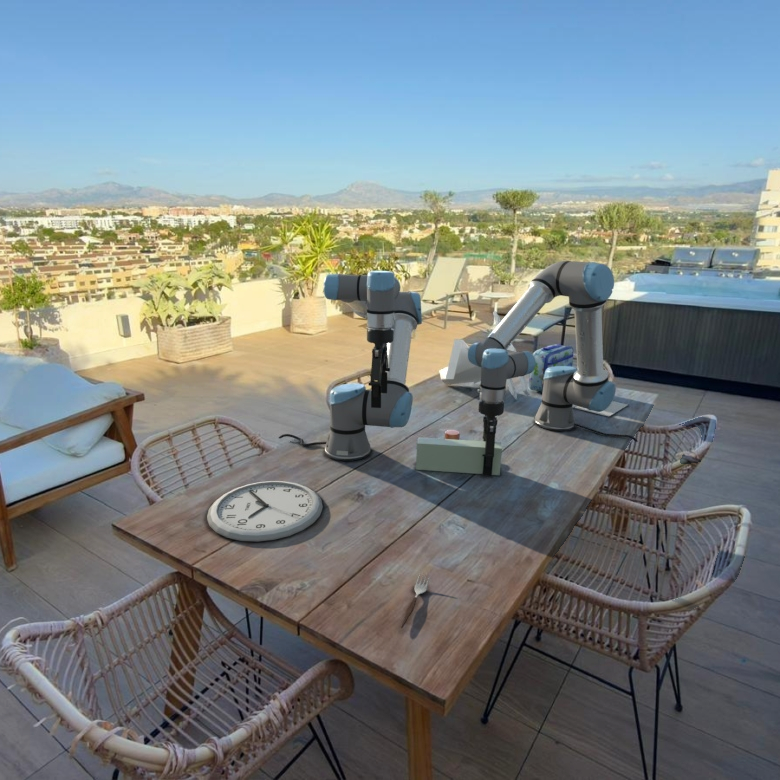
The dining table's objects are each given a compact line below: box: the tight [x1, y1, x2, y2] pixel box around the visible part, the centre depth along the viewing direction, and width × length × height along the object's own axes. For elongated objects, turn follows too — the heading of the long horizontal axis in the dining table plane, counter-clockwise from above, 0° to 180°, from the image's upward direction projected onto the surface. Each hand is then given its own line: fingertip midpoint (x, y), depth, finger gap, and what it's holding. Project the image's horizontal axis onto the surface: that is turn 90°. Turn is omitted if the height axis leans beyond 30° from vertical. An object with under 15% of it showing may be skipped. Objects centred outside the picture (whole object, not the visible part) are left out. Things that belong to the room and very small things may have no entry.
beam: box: [415, 436, 503, 476], centre depth 164 cm, size 26×5×9 cm, turn 83°
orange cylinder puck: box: [444, 429, 461, 440], centre depth 180 cm, size 5×5×6 cm
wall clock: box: [206, 480, 324, 543], centre depth 140 cm, size 30×2×30 cm
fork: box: [400, 570, 431, 629], centre depth 106 cm, size 3×16×2 cm, turn 160°
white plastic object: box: [438, 310, 531, 400], centre depth 245 cm, size 37×45×31 cm
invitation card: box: [573, 400, 629, 418], centre depth 226 cm, size 21×1×15 cm
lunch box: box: [528, 344, 574, 393], centre depth 247 cm, size 26×11×21 cm, turn 134°
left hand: (379, 399), depth 152 cm, fingers open, 13 cm apart
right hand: (486, 468), depth 165 cm, fingers open, 8 cm apart
